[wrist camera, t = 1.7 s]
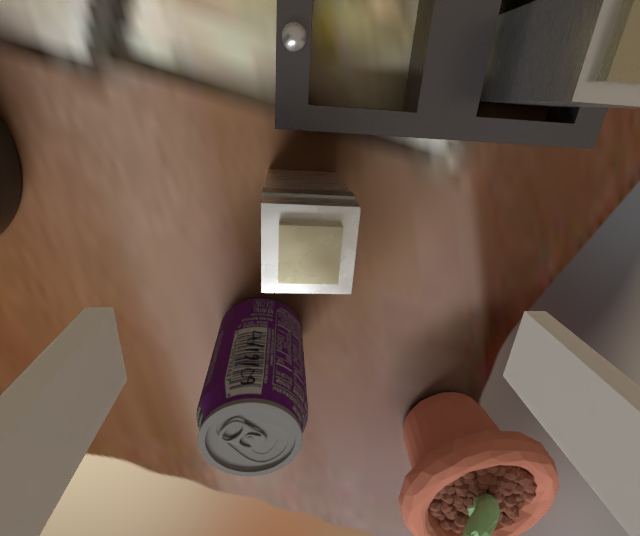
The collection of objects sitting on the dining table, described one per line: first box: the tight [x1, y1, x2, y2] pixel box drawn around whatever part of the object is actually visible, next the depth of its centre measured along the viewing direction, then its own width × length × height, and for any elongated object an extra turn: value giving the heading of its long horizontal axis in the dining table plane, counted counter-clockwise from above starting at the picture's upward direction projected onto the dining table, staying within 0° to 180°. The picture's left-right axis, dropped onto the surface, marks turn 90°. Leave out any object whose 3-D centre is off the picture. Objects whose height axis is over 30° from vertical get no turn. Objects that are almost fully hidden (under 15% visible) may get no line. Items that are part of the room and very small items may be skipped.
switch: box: [275, 0, 640, 149], centre depth 20 cm, size 22×10×11 cm, turn 86°
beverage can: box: [197, 298, 308, 476], centre depth 27 cm, size 7×7×12 cm
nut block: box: [261, 169, 361, 294], centre depth 24 cm, size 5×5×11 cm
